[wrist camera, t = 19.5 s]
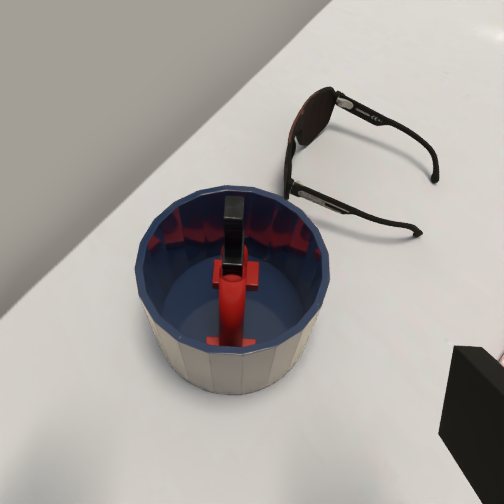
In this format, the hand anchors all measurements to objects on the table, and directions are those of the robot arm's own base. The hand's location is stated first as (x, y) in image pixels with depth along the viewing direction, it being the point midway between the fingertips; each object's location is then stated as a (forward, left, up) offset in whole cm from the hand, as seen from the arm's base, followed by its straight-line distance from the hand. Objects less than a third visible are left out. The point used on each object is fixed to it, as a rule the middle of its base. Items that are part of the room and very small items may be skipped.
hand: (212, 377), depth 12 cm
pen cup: (0, +8, -15) cm, 17 cm away
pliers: (0, +8, -14) cm, 16 cm away
